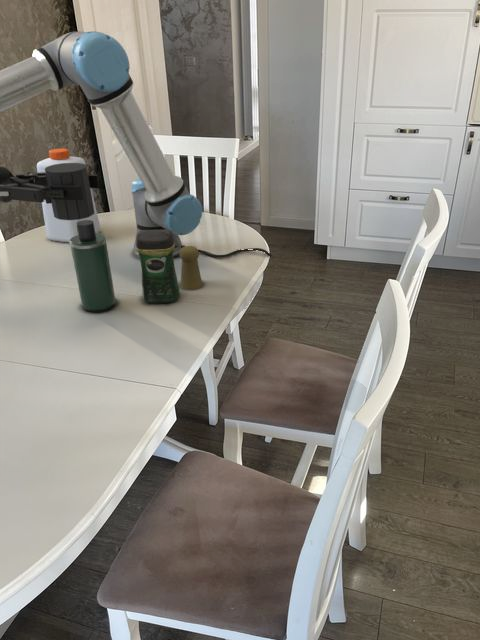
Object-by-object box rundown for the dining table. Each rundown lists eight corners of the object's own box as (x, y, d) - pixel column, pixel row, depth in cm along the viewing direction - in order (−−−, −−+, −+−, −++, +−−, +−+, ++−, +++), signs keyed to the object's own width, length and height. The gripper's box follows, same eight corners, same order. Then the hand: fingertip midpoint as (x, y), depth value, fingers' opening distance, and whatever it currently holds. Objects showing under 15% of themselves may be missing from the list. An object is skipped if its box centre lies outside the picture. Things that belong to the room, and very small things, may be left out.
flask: (115, 296, 146) (102, 215, 134) (116, 310, 139) (103, 226, 127) (82, 300, 144) (66, 218, 132) (82, 314, 137) (65, 229, 125)
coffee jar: (180, 291, 148) (175, 224, 139) (178, 304, 142) (172, 235, 132) (145, 291, 148) (136, 225, 138) (140, 305, 141) (132, 236, 132)
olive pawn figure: (206, 282, 153) (204, 245, 147) (195, 291, 148) (192, 253, 143) (187, 279, 155) (184, 242, 149) (176, 287, 151) (172, 249, 145)
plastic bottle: (42, 240, 182) (22, 153, 168) (68, 226, 195) (52, 144, 180) (81, 245, 178) (65, 156, 164) (105, 230, 191) (92, 146, 176)
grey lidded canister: (93, 207, 124) (86, 161, 119) (94, 218, 117) (86, 170, 112) (55, 210, 122) (45, 164, 117) (53, 221, 115) (43, 173, 110)
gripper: (17, 188, 129) (110, 191, 127) (-34, 216, 111) (73, 220, 109) (10, 155, 125) (105, 157, 123) (-45, 179, 107) (66, 182, 105)
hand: (90, 187), depth 116 cm, fingers closed on grey lidded canister, 9 cm apart
